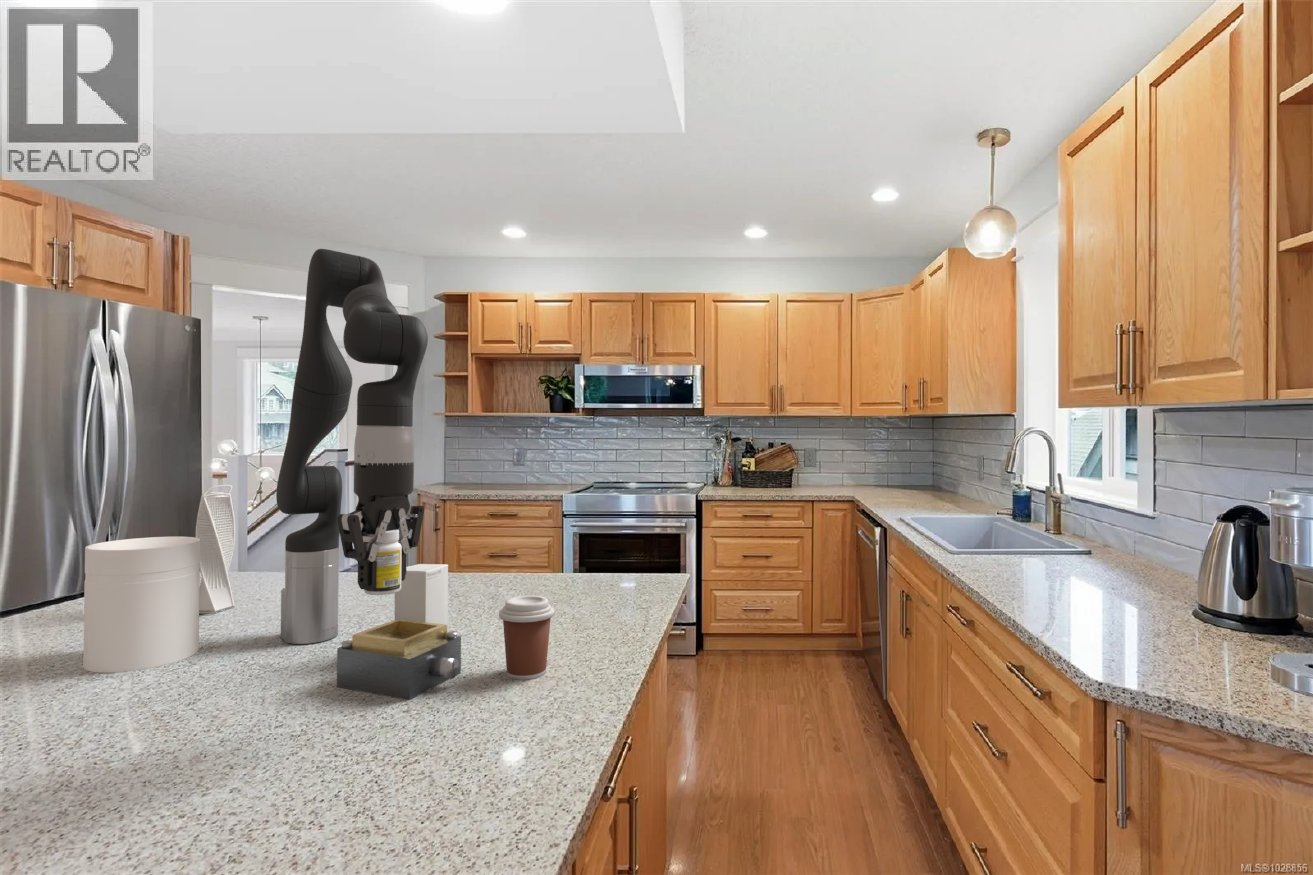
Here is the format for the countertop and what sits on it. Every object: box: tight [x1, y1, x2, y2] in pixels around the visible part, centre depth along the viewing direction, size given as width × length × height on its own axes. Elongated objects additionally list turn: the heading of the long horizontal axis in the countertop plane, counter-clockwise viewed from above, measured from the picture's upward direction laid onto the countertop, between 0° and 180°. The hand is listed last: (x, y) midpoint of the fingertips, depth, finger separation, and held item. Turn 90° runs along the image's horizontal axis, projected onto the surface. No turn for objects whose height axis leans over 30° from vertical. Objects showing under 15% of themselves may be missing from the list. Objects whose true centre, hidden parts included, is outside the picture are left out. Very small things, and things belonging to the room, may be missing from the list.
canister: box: [82, 536, 201, 674], centre depth 115 cm, size 16×16×20 cm
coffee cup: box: [498, 594, 556, 681], centre depth 108 cm, size 9×9×12 cm
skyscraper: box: [195, 484, 236, 615], centre depth 147 cm, size 8×8×28 cm
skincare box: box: [394, 563, 449, 633], centre depth 118 cm, size 8×7×16 cm
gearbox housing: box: [336, 619, 462, 701], centre depth 104 cm, size 17×12×8 cm
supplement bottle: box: [363, 529, 402, 596], centre depth 89 cm, size 5×5×8 cm
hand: (382, 584), depth 89 cm, fingers closed on supplement bottle, 4 cm apart
